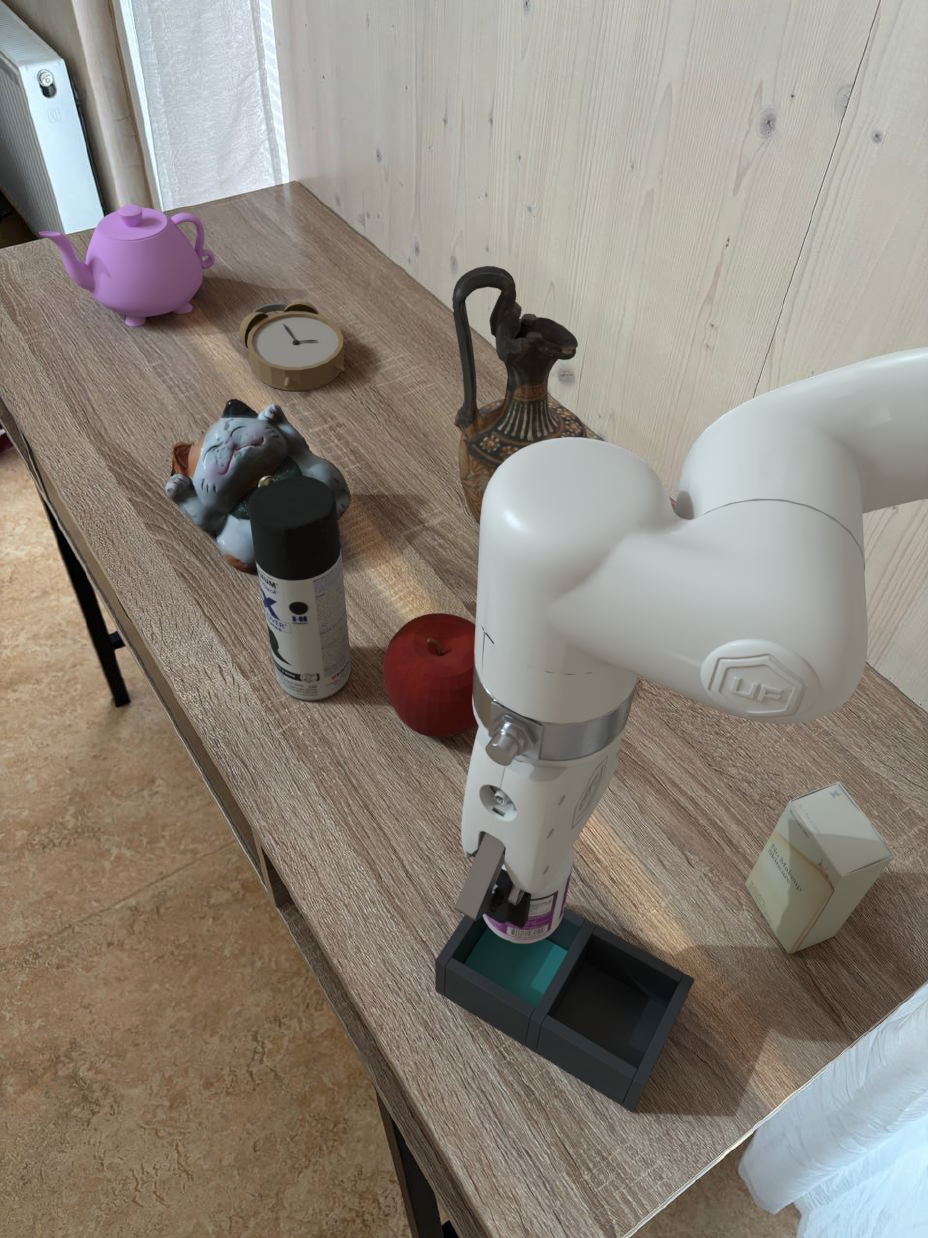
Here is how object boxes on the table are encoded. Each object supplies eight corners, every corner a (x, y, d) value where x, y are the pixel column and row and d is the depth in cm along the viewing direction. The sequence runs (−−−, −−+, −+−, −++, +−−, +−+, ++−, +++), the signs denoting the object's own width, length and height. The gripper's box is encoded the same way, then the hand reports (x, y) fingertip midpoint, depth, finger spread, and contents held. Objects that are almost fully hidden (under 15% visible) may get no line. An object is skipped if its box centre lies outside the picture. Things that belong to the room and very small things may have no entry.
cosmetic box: (742, 884, 77) (783, 798, 68) (791, 865, 78) (838, 777, 69) (789, 959, 73) (840, 877, 64) (841, 937, 74) (897, 854, 65)
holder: (681, 1008, 70) (695, 978, 67) (632, 1113, 66) (644, 1087, 62) (492, 901, 75) (495, 867, 72) (434, 991, 71) (435, 960, 67)
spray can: (267, 657, 91) (234, 485, 76) (339, 635, 93) (321, 464, 78) (288, 712, 87) (258, 542, 72) (363, 688, 89) (349, 518, 74)
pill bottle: (510, 854, 67) (519, 772, 60) (578, 898, 65) (596, 819, 58) (462, 915, 64) (465, 837, 57) (532, 964, 62) (545, 889, 55)
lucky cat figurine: (245, 600, 95) (157, 481, 88) (215, 562, 105) (135, 452, 98) (373, 509, 98) (299, 386, 90) (333, 480, 108) (263, 368, 100)
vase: (574, 595, 97) (615, 315, 74) (445, 589, 97) (447, 307, 75) (572, 514, 105) (608, 237, 82) (452, 508, 105) (456, 231, 83)
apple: (473, 660, 91) (476, 583, 84) (513, 743, 85) (520, 667, 78) (372, 688, 89) (366, 611, 81) (406, 775, 83) (403, 700, 75)
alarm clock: (269, 382, 114) (220, 298, 121) (272, 413, 118) (224, 331, 125) (360, 356, 118) (308, 276, 124) (359, 387, 122) (309, 308, 128)
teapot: (82, 353, 122) (53, 256, 113) (51, 298, 130) (21, 203, 121) (238, 311, 129) (223, 216, 120) (199, 261, 137) (182, 169, 128)
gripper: (535, 861, 41) (510, 1027, 55) (698, 602, 51) (643, 796, 65) (383, 778, 44) (395, 956, 57) (566, 546, 54) (540, 745, 67)
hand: (527, 870), depth 61 cm, fingers closed on pill bottle, 5 cm apart
